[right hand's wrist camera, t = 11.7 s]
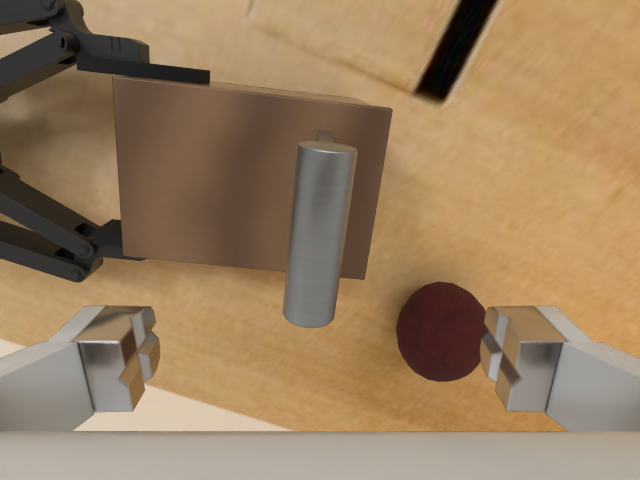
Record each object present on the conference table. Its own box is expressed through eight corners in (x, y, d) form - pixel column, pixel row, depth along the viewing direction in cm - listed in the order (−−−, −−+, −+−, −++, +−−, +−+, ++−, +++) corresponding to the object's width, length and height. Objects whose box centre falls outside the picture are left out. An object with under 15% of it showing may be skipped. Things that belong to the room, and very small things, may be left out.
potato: (391, 348, 38) (406, 404, 31) (388, 271, 35) (403, 315, 29) (472, 341, 38) (505, 396, 31) (475, 264, 35) (512, 306, 28)
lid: (389, 107, 21) (431, 122, 14) (362, 273, 25) (383, 362, 17) (120, 76, 21) (-1, 72, 13) (129, 250, 24) (38, 330, 16)
